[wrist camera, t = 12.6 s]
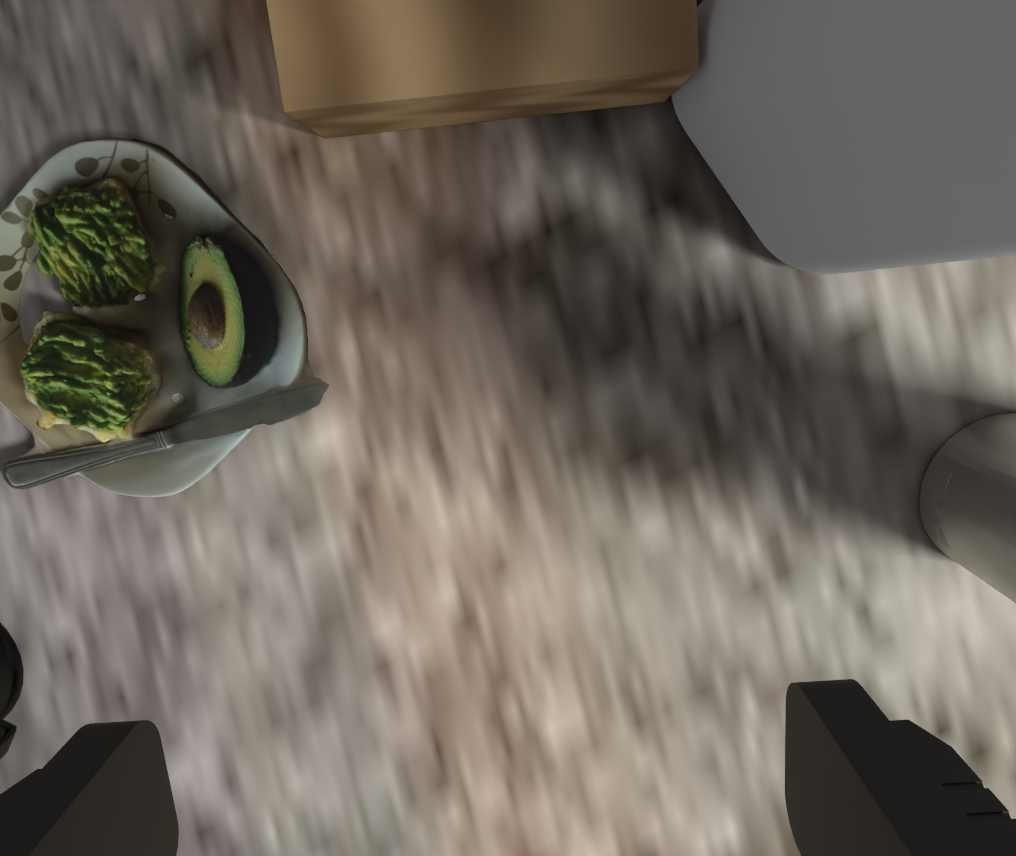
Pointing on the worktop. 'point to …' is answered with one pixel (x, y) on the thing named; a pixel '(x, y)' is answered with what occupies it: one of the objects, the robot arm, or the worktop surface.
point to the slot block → (474, 59)
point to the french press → (8, 686)
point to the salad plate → (142, 324)
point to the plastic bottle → (861, 127)
